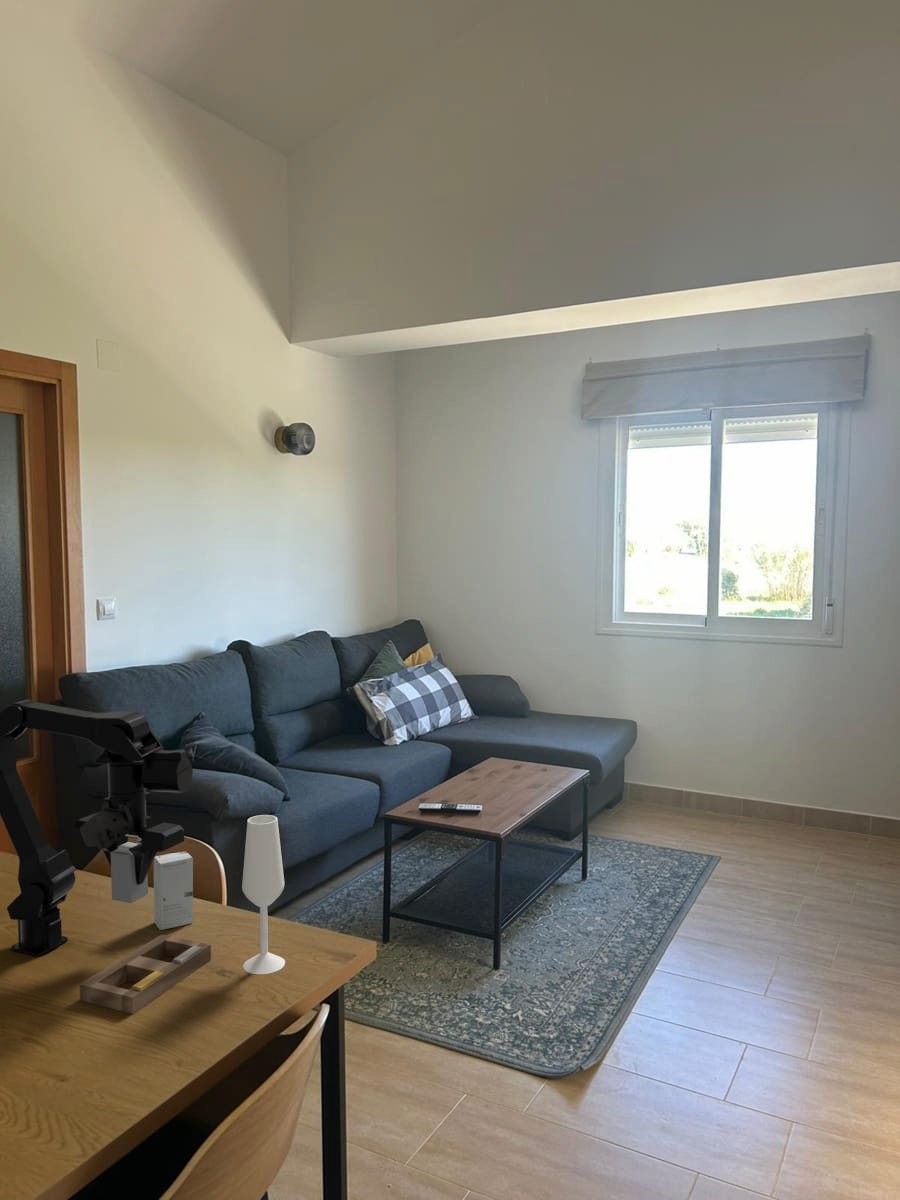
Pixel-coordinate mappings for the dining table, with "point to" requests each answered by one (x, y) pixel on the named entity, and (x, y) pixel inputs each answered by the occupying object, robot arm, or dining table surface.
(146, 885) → the plug
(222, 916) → the dining table surface
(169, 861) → the skincare box
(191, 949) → the brown wooden flat frame
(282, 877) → the champagne flute
